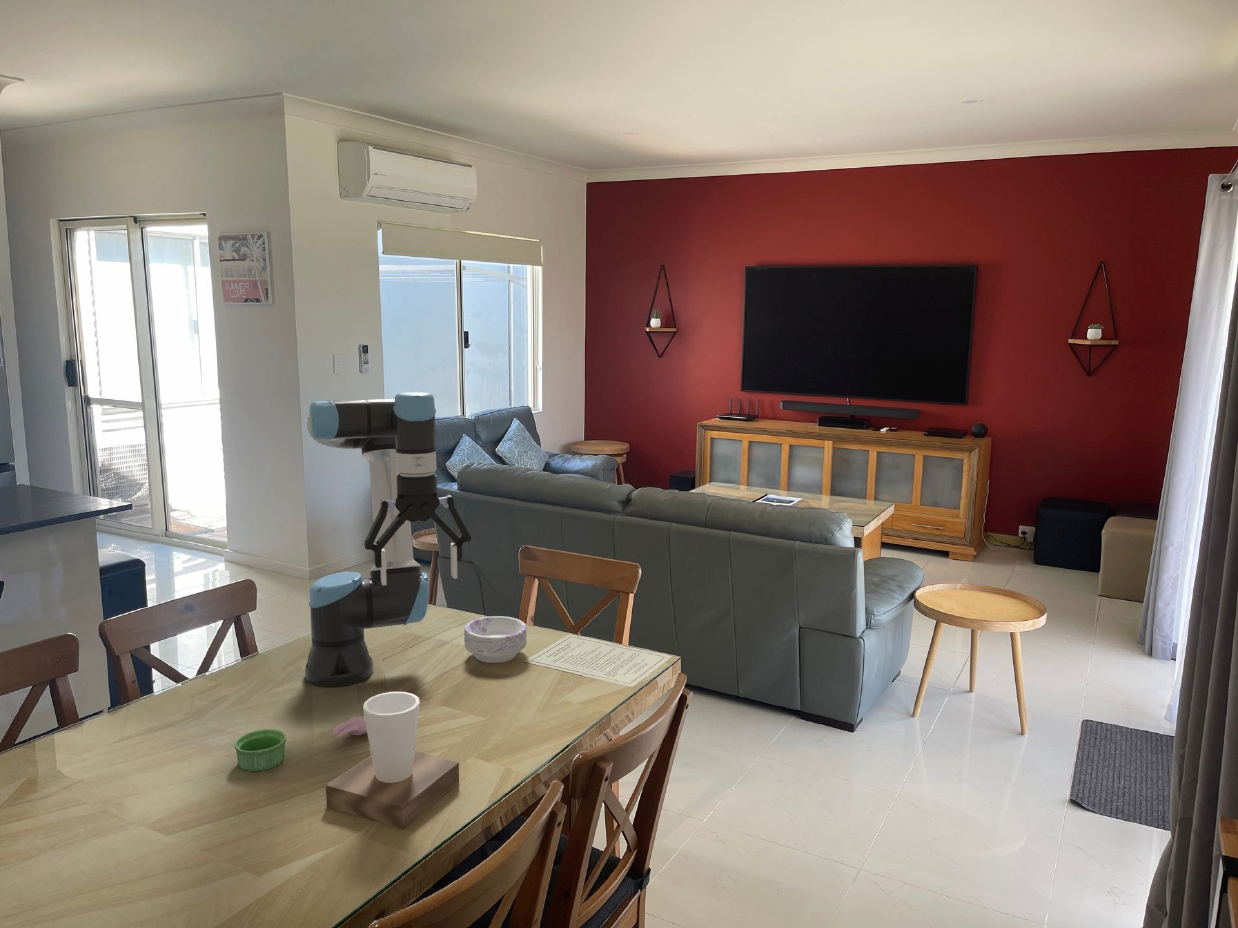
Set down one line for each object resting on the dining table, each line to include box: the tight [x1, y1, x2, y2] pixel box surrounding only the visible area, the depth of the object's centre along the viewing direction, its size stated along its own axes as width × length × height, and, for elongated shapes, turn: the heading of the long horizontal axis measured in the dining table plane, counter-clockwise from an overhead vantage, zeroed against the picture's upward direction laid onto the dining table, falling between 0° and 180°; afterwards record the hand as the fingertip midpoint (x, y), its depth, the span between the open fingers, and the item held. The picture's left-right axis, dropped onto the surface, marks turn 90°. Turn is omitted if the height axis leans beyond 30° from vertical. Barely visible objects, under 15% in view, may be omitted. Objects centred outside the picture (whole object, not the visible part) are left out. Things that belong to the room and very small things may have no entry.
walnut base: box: [325, 750, 460, 830], centre depth 154 cm, size 16×16×4 cm
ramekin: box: [234, 728, 287, 772], centre depth 165 cm, size 9×9×4 cm
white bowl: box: [463, 615, 528, 664], centre depth 216 cm, size 15×15×8 cm
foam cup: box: [362, 691, 421, 783], centre depth 152 cm, size 10×9×13 cm
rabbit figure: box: [332, 715, 367, 738], centre depth 176 cm, size 6×6×15 cm
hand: (419, 580), depth 172 cm, fingers open, 13 cm apart
